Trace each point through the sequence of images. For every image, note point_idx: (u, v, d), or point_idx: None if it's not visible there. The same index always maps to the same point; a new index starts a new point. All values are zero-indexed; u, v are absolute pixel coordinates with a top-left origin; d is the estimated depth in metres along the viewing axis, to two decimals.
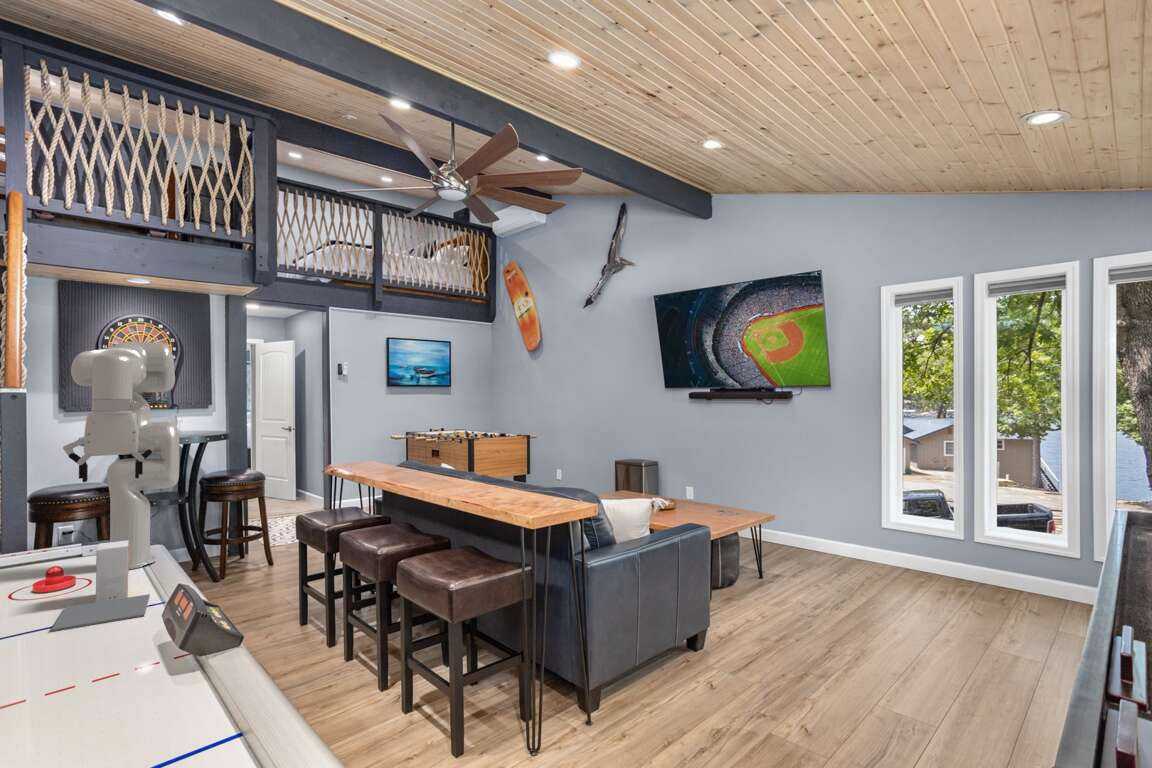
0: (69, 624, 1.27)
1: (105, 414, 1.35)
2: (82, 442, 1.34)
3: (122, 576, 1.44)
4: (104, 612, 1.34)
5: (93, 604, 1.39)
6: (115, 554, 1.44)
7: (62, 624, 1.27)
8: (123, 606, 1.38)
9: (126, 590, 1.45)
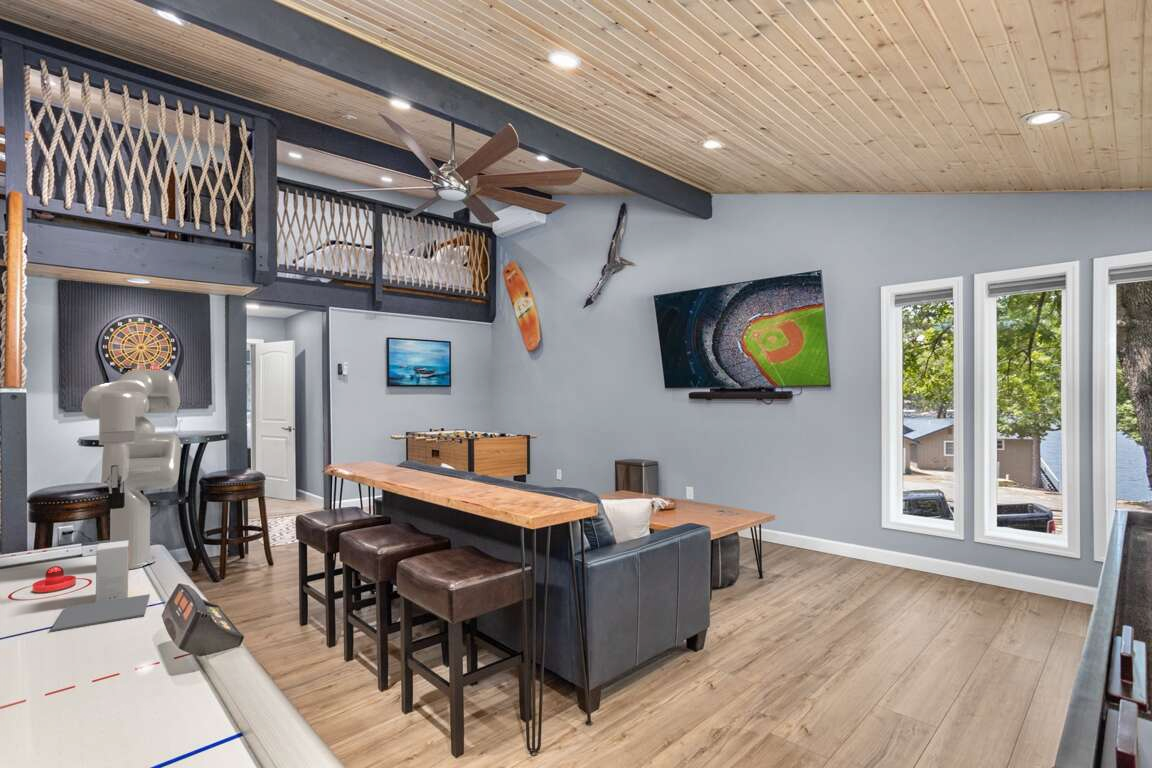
0: (69, 624, 1.27)
1: (128, 444, 1.54)
2: (118, 473, 1.51)
3: (122, 576, 1.44)
4: (104, 612, 1.34)
5: (93, 604, 1.39)
6: (115, 554, 1.44)
7: (62, 624, 1.27)
8: (123, 606, 1.38)
9: (126, 590, 1.45)
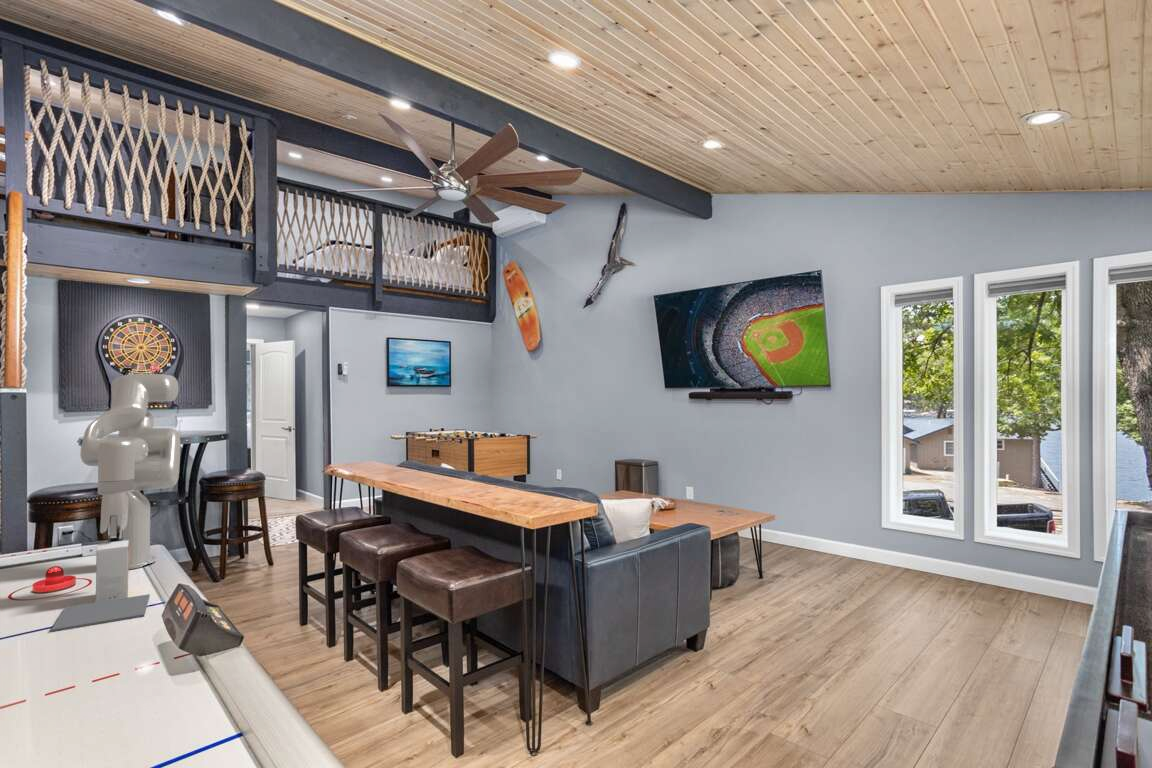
0: (69, 624, 1.27)
1: (127, 493, 1.53)
2: (117, 523, 1.49)
3: (122, 576, 1.44)
4: (104, 612, 1.34)
5: (93, 604, 1.39)
6: (115, 554, 1.44)
7: (62, 624, 1.27)
8: (123, 606, 1.38)
9: (126, 590, 1.45)
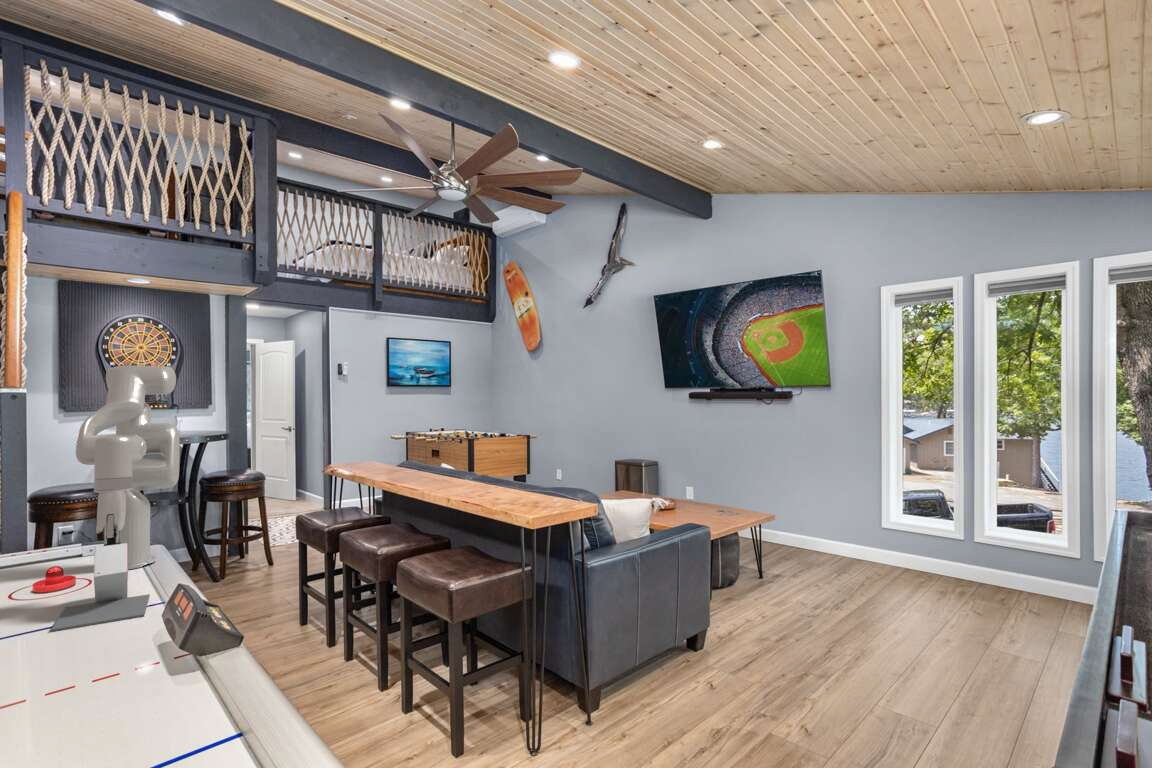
0: (69, 624, 1.27)
1: (125, 491, 1.46)
2: (114, 523, 1.43)
3: (122, 588, 1.41)
4: (104, 612, 1.34)
5: (93, 604, 1.39)
6: (114, 577, 1.37)
7: (62, 624, 1.27)
8: (123, 606, 1.38)
9: (126, 594, 1.44)
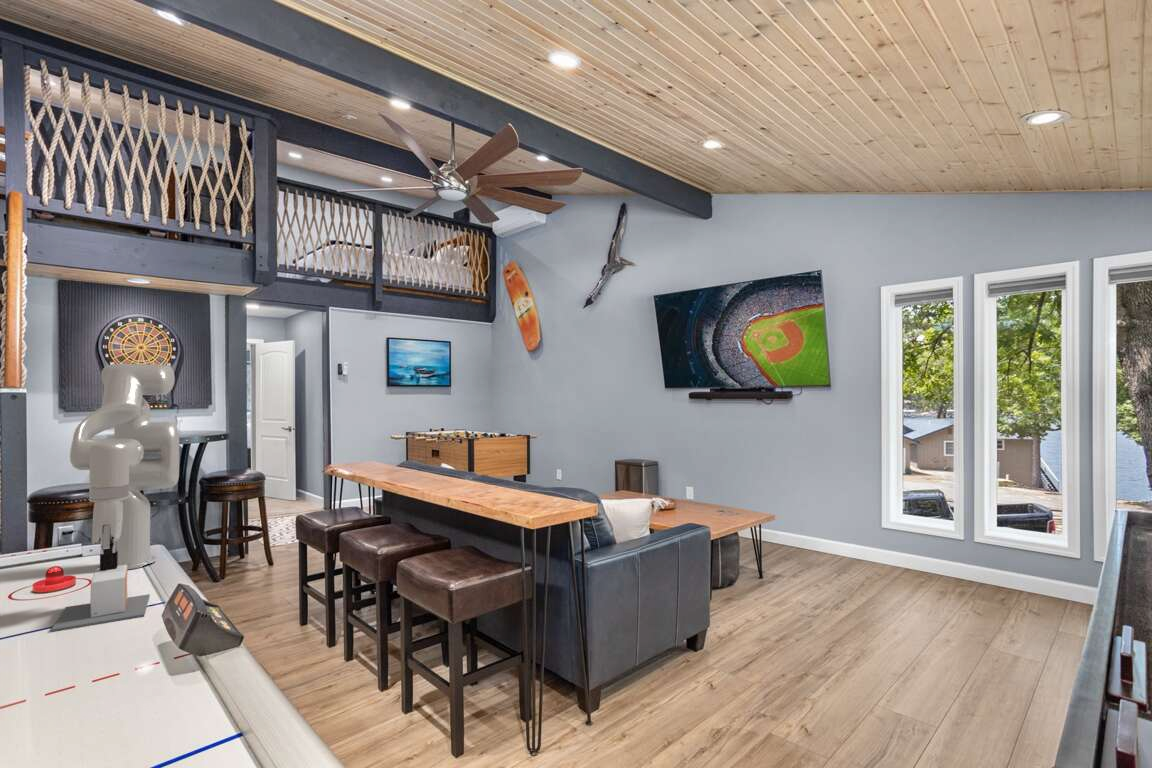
0: (69, 624, 1.27)
1: (121, 499, 1.41)
2: None
3: None
4: None
5: None
6: None
7: (62, 624, 1.27)
8: None
9: None
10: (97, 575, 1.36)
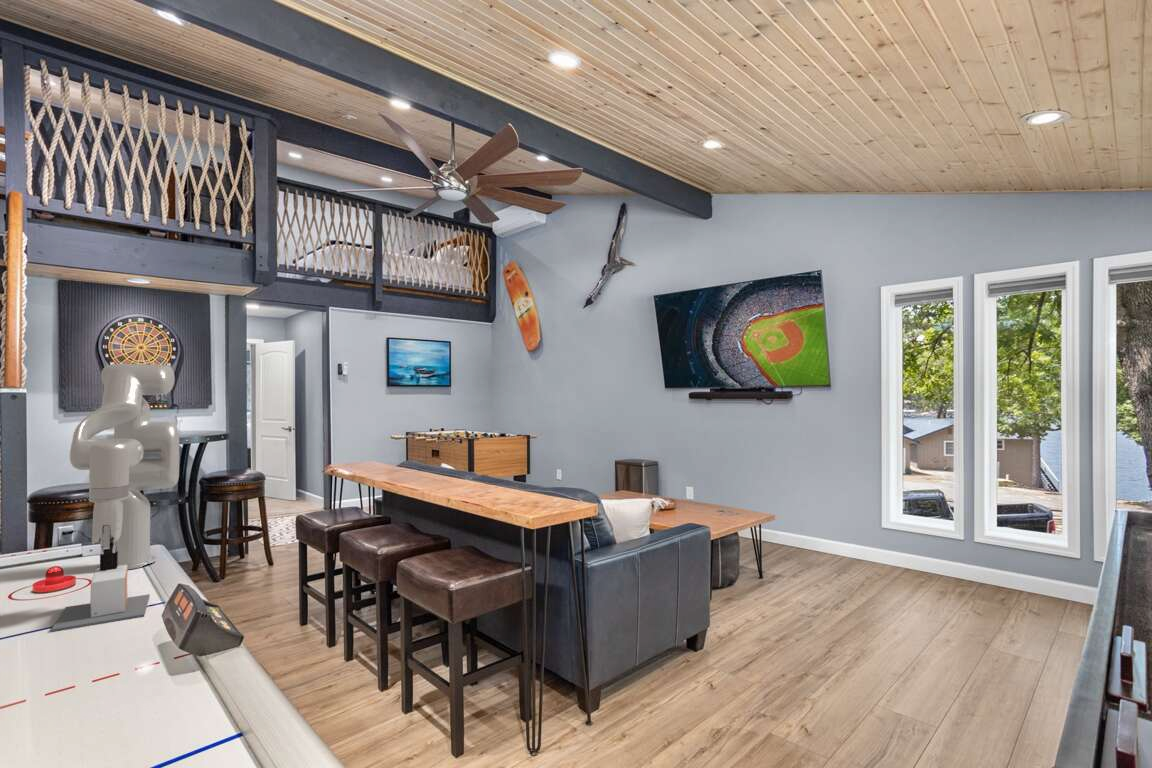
0: (69, 624, 1.27)
1: (121, 500, 1.41)
2: (110, 533, 1.38)
3: None
4: None
5: None
6: None
7: (62, 624, 1.27)
8: None
9: None
10: (97, 575, 1.36)
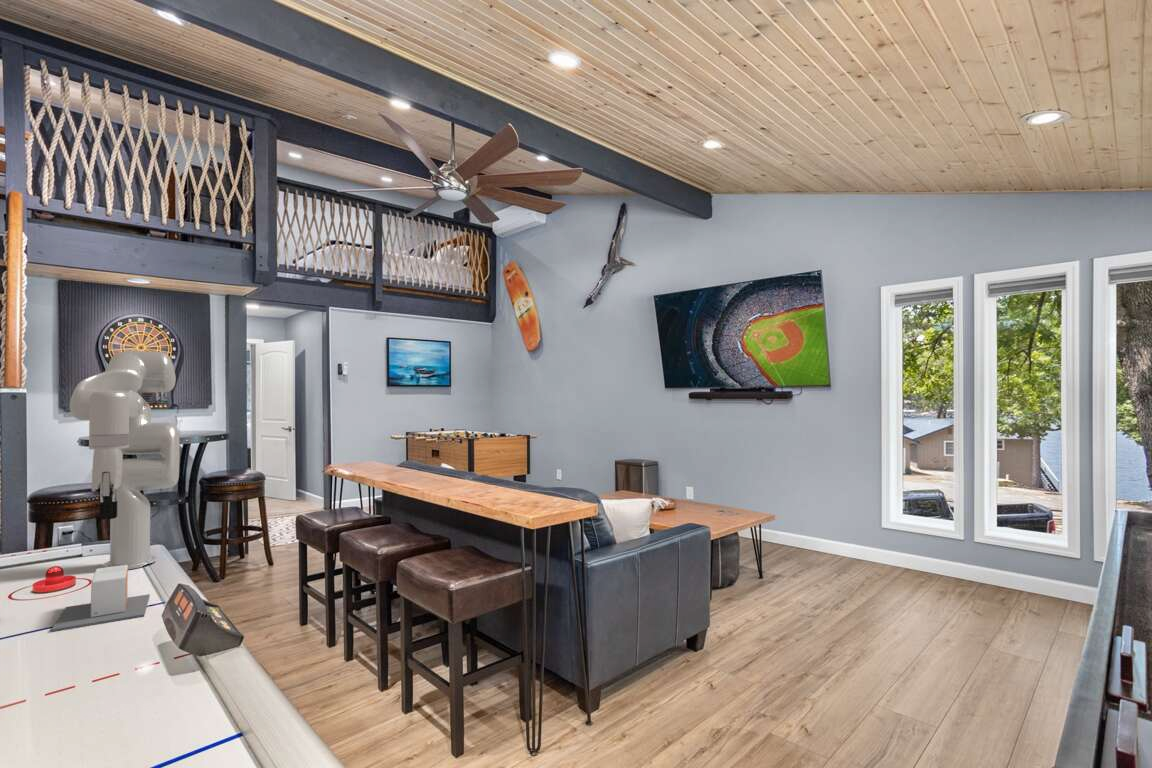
0: (69, 624, 1.27)
1: (121, 448, 1.41)
2: (110, 481, 1.37)
3: None
4: None
5: None
6: None
7: (62, 624, 1.27)
8: None
9: None
10: (98, 575, 1.36)
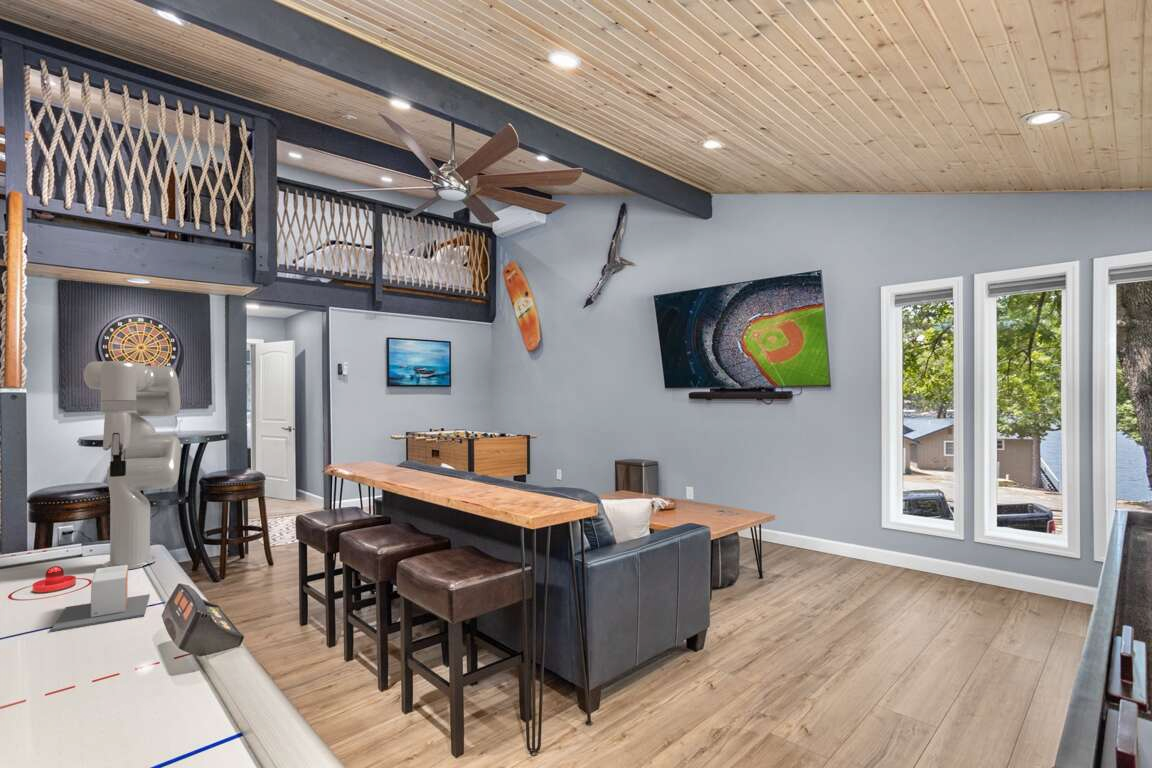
0: (69, 624, 1.27)
1: (129, 413, 1.56)
2: (119, 441, 1.53)
3: None
4: None
5: None
6: None
7: (62, 624, 1.27)
8: None
9: None
10: (98, 575, 1.36)
